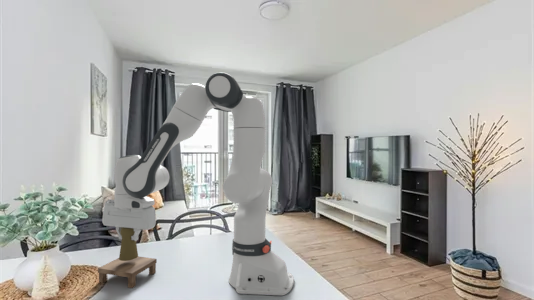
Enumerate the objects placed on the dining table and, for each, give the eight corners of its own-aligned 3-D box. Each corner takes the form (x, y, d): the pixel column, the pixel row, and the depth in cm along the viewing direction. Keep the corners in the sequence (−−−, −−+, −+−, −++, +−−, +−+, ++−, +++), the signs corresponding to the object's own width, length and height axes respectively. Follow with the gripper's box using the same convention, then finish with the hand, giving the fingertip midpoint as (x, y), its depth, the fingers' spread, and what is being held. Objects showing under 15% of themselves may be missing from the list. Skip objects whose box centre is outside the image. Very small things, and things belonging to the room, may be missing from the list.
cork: (114, 260, 92) (114, 228, 92) (126, 253, 98) (126, 223, 98) (130, 261, 91) (130, 229, 91) (141, 254, 97) (141, 224, 97)
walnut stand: (156, 272, 99) (156, 258, 99) (132, 288, 87) (132, 273, 87) (125, 267, 102) (125, 254, 102) (97, 282, 91) (98, 268, 91)
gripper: (97, 200, 94) (97, 239, 94) (146, 204, 89) (146, 245, 89) (112, 197, 100) (112, 234, 100) (158, 200, 95) (158, 239, 95)
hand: (128, 239), depth 95 cm, fingers closed on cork, 4 cm apart
